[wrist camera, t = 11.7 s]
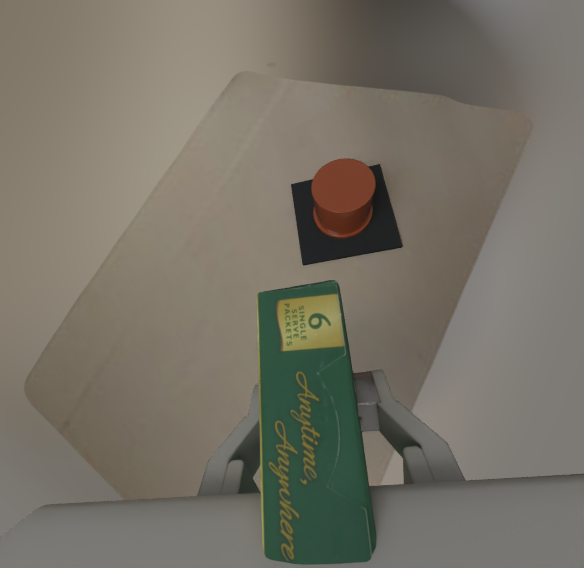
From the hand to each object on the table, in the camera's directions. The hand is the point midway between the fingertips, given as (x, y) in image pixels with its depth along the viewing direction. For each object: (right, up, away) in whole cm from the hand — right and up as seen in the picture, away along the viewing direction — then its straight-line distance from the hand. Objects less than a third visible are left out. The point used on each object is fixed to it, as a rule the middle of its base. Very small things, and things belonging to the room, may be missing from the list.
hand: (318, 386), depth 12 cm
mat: (+7, +17, +32) cm, 37 cm away
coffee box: (+1, -3, +7) cm, 8 cm away
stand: (+7, +17, +31) cm, 36 cm away
